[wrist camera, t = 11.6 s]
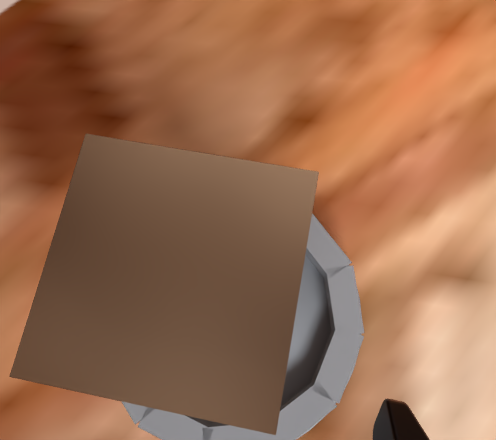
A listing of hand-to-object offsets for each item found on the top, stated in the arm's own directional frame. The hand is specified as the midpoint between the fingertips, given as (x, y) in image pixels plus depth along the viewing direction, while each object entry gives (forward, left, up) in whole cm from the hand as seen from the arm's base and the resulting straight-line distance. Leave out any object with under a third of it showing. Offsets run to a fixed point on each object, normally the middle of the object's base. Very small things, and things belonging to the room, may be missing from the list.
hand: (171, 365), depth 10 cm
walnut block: (+1, -1, -11) cm, 11 cm away
